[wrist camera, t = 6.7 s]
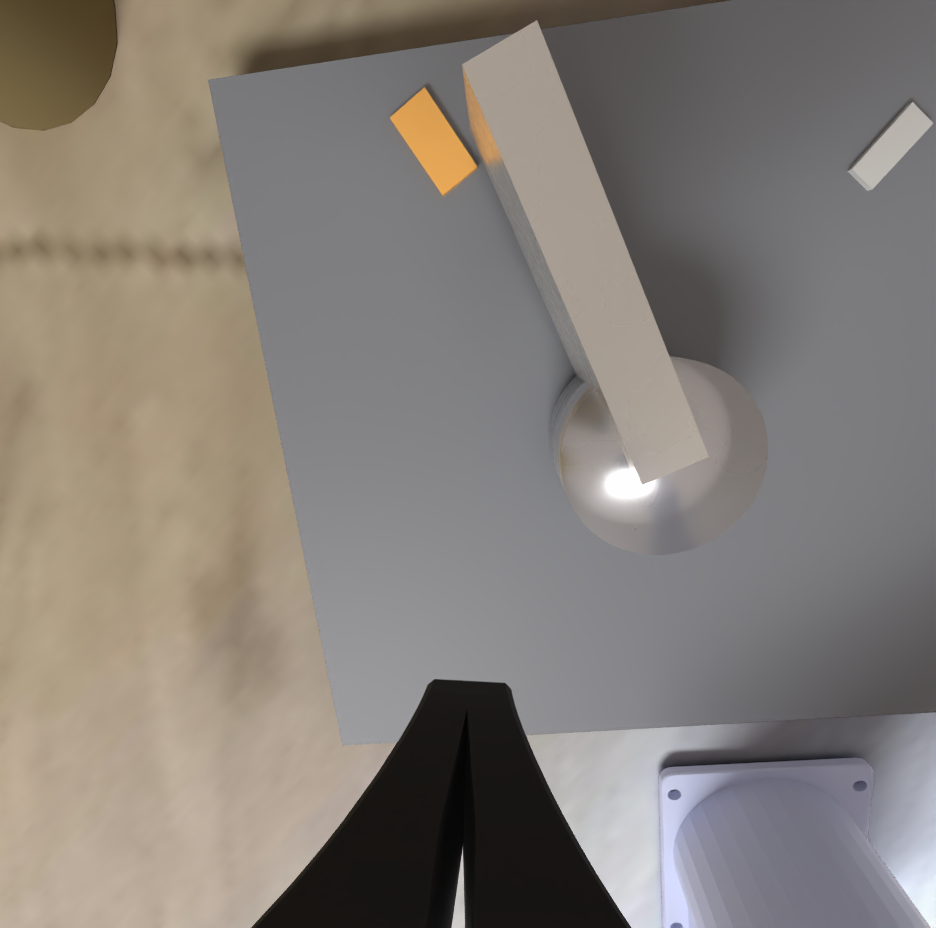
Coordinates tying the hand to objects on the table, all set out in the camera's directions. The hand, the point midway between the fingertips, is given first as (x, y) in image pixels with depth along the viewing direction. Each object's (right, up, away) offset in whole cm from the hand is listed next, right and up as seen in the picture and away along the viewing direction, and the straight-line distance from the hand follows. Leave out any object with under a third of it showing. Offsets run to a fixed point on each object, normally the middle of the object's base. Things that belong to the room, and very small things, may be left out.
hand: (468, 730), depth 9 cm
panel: (+5, +6, +9) cm, 12 cm away
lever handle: (+3, +9, +6) cm, 11 cm away
